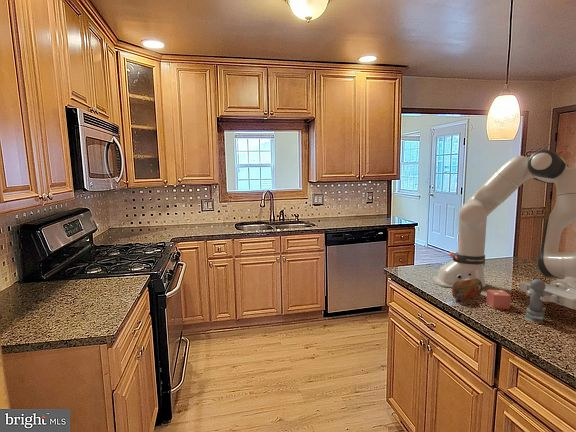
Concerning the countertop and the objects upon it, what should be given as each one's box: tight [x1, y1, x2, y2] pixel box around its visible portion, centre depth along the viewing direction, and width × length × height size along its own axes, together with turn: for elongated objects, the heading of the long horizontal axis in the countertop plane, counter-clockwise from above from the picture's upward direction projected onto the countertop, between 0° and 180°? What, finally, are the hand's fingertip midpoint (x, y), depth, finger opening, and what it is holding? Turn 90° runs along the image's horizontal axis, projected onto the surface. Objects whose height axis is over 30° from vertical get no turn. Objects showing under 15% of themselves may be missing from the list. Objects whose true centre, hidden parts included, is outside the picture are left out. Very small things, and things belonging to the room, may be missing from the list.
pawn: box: [525, 278, 546, 317], centre depth 122 cm, size 5×5×12 cm
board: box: [524, 303, 547, 324], centre depth 128 cm, size 19×12×1 cm, turn 141°
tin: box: [451, 278, 483, 302], centre depth 145 cm, size 15×3×8 cm, turn 114°
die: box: [485, 289, 512, 310], centre depth 135 cm, size 6×6×6 cm
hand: (534, 296), depth 122 cm, fingers closed on pawn, 4 cm apart
